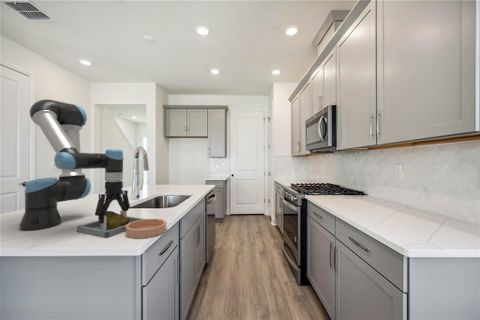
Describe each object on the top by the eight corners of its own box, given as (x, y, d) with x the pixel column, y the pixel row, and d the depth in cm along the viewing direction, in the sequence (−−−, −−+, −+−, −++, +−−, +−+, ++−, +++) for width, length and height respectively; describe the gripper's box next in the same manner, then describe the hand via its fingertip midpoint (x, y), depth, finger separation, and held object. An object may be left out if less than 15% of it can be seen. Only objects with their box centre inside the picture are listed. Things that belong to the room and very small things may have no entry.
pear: (120, 230, 99) (120, 213, 99) (94, 229, 100) (94, 212, 100) (131, 225, 107) (131, 209, 107) (107, 224, 108) (107, 208, 108)
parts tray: (77, 231, 97) (77, 226, 97) (119, 219, 117) (119, 215, 117) (106, 238, 90) (106, 232, 90) (145, 223, 110) (145, 219, 110)
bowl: (116, 235, 93) (116, 226, 93) (146, 224, 109) (146, 217, 109) (146, 240, 87) (146, 232, 87) (173, 228, 103) (173, 221, 103)
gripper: (96, 183, 91) (96, 235, 91) (138, 179, 112) (137, 221, 112) (85, 182, 94) (84, 232, 94) (127, 178, 115) (127, 219, 115)
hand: (113, 226), depth 103 cm, fingers closed on pear, 9 cm apart
